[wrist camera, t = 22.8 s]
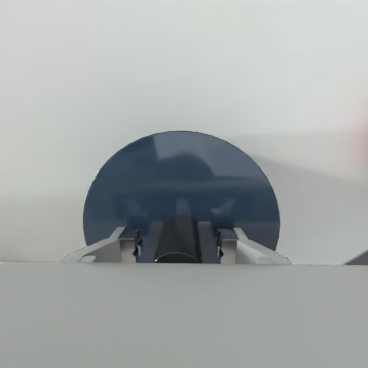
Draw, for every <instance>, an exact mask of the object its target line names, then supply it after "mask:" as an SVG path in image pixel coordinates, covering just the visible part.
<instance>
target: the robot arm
mask: <svg viewBox="0 0 368 368" xmlns="http://www.w3.org/2000/svg"><path fill="white" fill-rule="evenodd" d="M142 234H143V231H142V227H117V229H116V230H115V231H114V232H113V233H112V235H111V236H110V237H109V238H108V239H104V240H101V241H99V242H97V243H94V244H92V245H90V246H87V247H85V248H83V249H80V250H78V251H76V252H73V253H71V254H69V255H67V256H66V257H65V258H64V259H63V260H62V261H61V262H19V261H0V368H368V265H365V266H363V265H358V266H357V265H293V264H292V263H291V262H290V261H289V259H288V258H287V257H285V256H283V255H281V254H279V253H277V252H275V251H273V250H271V249H268V248H266V247H264V246H262V245H260V244H258V243H256V242H254V241H252V240H248V238H247V236H246V235H245V233H244V232H243V230H242V229H241V228H217V231H216V235H217V240H216V253H217V256H218V257H219V260H218V261H219V264H193V263H138V262H139V256H141V254H142V251H143V240H142V238H141V237H142Z"/></svg>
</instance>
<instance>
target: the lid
mask: <svg viewBox="0 0 368 368" xmlns="http://www.w3.org/2000/svg"><path fill="white" fill-rule="evenodd" d="M117 227H142V231H143V234H142V237H141V238H142V240H143V251H142V254H141V256H139V262H138V263H193V264H219V261H218V260H219V257H218V256H217V253H216V240H217V235H216V231H217V228H241V229H242V230H243V232H244V233H245V235H246V236H247V238H248V240H252V241H254V242H256V243H258V244H260V245H262V246H264V247H266V248H268V249H271V250H273V251H275V250H276V246H277V242H278V238H279V229H280V217H279V209H278V204H277V199H276V197H275V194H274V191H273V188H272V186H271V184H270V183H269V181H268V179H267V177H266V176H265V174H264V173H263V171H262V170H261V169H260V167H259V166H258V165H257V164H256V163H255V162H254V161H253V160H252V159H251V158H250V157H249V156H248V155H247V154H245V153H244V152H243V151H241V150H240V149H239V148H237V147H235V146H234V145H232V144H230V143H228V142H227V141H225V140H222V139H219V138H217V137H214V136H212V135H207V134H203V133H199V132H191V131H168V132H162V133H156V134H153V135H149V136H146V137H143V138H140V139H138V140H136V141H134V142H132V143H130V144H128V145H127V146H125V147H124V148H122V149H121V150H119V151H118V152H117V153H115V154H114V155H113V156H112V157H111V158H110V159H109V160H108V161H107V162H106V163H105V164H104V165H103V167H102V168H101V169H100V170H99V172H98V173H97V175H96V177H95V178H94V180H93V181H92V184H91V186H90V188H89V191H88V193H87V197H86V201H85V204H84V212H83V230H84V236H85V241H86V244H87V246H90V245H92V244H94V243H97V242H99V241H101V240H104V239H108V238H109V237H110V236H111V235H112V233H113V232H114V231H115V230H116V229H117Z"/></svg>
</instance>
